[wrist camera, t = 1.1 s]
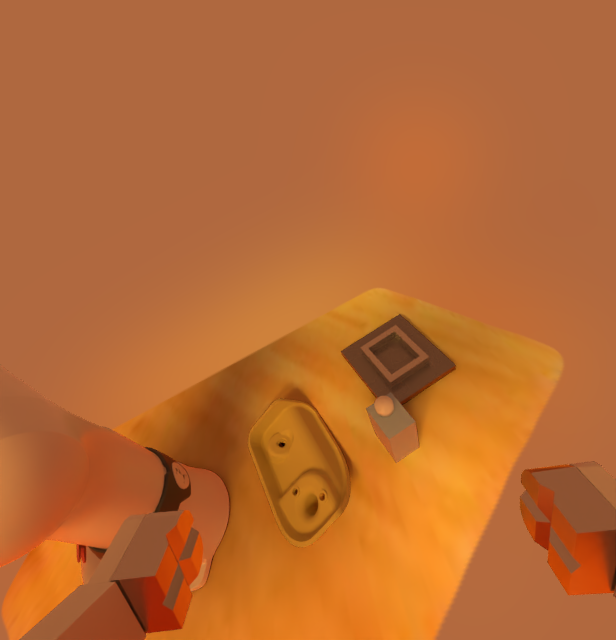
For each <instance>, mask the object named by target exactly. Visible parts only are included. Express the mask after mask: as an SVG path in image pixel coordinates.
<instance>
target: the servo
mask: <svg viewBox="0 0 616 640" xmlns="http://www.w3.org/2000/svg"><path fill="white" fill-rule="evenodd" d="M366 410H367V412H368V415H369V418H370V420H371V423H372V425H373V428H374V431H375V433H376V435H377V437H378V438H379V439H380V441H381V442H382V444H383V445H384V446H385V448H386V449H387V451H388V452H389V453H390V455H391V456H392V458H393V459H394V460H395V462H396V463H397V462H399V461H400V460H401V459H403V458H404V457H406V456H407V455H409V454H410V453H412V452H413V451H414V450H416V449H417V448H419V442H418V435H417V428H416V422H415V420H414V419H413V418H412V417H411V416H410V414H409V413H408V412H407V411H406V410H405V408H404V407H403V406H402V405H401V404H400V402H399V401H398V400H397V399H396V398H395V397H394V395H393V394H392V393H391V392H390V393H389V394H387V395H386V396H380V397H378V398H377V399H376V400H375V402H374V404H372V405H371V406H369V407H368V408H366Z"/></svg>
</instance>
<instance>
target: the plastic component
mask: <svg viewBox="0 0 616 640" xmlns="http://www.w3.org/2000/svg"><path fill="white" fill-rule="evenodd" d="M280 443H285V446H284V447H280V446H279V444H280ZM248 448H249V451H250V454H251V456H252V459H253V462H254V464H255V467H256V470H257V472H258V475H259V478H260V481H261V483H262V486H263V489H264V491H265V494H266V497H267V499H268V502H269V505H270V507H271V510H272V513H273V515H274V518H275V520H276V522H277V525H278V527H279V529H280V531H281V533H282V534H283V536H284V537H285V539H286V540H287V541H288V542H289V543H290V544H292V545H294V546H296V547H307V546H310V545H312V544H313V543H315V542H316V541H317V540H318V539H319V538H320V537H321V536H322V535H323V534H324V533H325V531H326V530H327V529H328V528H329V527H330V526H331V525H332V524H333V523H334V522H335V520H336V519H337V518H338V517H339V516H340V515H341V514H342V513H343V511H344V510H345V508H346V506H347V504H348V501H349V497H350V475H349V470H348V466H347V463H346V461H345V458H344V456H343V454H342V452H341V449H340V447H339V446H338V444H337V443H336V441H335V439H334V438H333V436H332V434H331V433H330V431H329V430H328V428H327V426H326V425H325V423H324V421H323V420H322V418H321V417H320V415H319V413H318V412H317V411H316V410H315V409H314V408H313V407H312V406H311V405H309V404H308V403H306V402H303V401H298V400H291V399H283V398H280V399H277V400H275V401H274V402H273V403H272V404H271V405H270V407H269V408H268V409H267V410H266V411H265V412H264V414H263V415H262V416H261V417H260V418H259V420H258V421H257V422H256V423H255V424H254V426H253V427H252V428H251V430H250V432H249V436H248ZM296 491H297V495H296Z"/></svg>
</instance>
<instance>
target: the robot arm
mask: <svg viewBox="0 0 616 640" xmlns="http://www.w3.org/2000/svg"><path fill="white" fill-rule="evenodd" d="M521 483H522V485H523V486H524V487H525V489H526V491H525V492H524V493H523V494H522V495H521V496H520V510H521V513H522V517H523V520H524V523H525V525H526V527H527V529H528V531H529V533H530V534H531V536H532V538H533V540H534V541H535V542H536V543H538V544H539V545H540V546H542V547H543V548H545V549H546V550H548V561H547V562H548V564H549V565H550V567H551V569H552V570H553V572H554V573H555V575H556V577H557V578H558V580H559V581H560V583H561V585H562V586H563V588H564V589H565V591H566V592H567V594H568V595H585V594H603V593H614V594H613V595H614V596H615V597H616V479H615V478H613V476H612V475H610V473H609V472H607V471H606V470H605V469H604V468H603V467H602V466H601V465H600V464H598V463H596V462H594V461H592V462H584V463H576V464H570V465H566V464H565V465H558V466H550V467H542V468H535V469H527V470H524V471H523V473H522V474H521ZM228 517H229V496H228V492H227V489H226V486H225V484H224V483H223V481H222V480H221V478H220V477H219V476H218V475H217V474H215V473H214V472H212V471H210V470H207V469H200V468H193V467H189V466H186V465H184V464H182V463H180V462H176V461H175V460H173V459H172V458H170V457H169V456H167V455H165V454H163V453H161V452H159V451H157V450H155V449H152V448H148V447H142V446H140V445H139V444H137V443H135V442H133V441H131V440H130V439H128V438H126V437H124V436H122V435H121V434H119V433H117V432H115V431H113V430H111V429H109V428H107V427H101V426H98V425H96V424H94V423H91V422H89V421H87V420H85V419H82V418H80V417H78V416H76V415H74V414H72V413H70V412H68V411H66V410H65V409H63V408H61V407H59V406H58V405H56V404H55V403H53V402H52V401H50V400H49V399H47V398H46V397H44V396H43V395H42V394H40V393H39V392H37V391H36V390H35V389H33V388H32V387H30V386H29V385H28V384H26V383H25V382H24V381H22V380H20V379H18V378H17V377H15V376H14V375H13V374H11V373H10V372H9V371H8V370H6V369H5V368H4V367H3V366H1V365H0V567H2V566H4V565H7V564H9V563H11V562H13V561H15V560H16V559H18V558H20V557H22V556H23V555H25V554H27V553H28V552H30V551H31V550H33V549H34V548H36V547H37V546H38V545H40V544H41V543H42V542H44V541H45V540H55V541H61V542H67V543H73V544H77V561H78V562H80V559H81V568H82V578H83V583H84V585H80V586H79V587H78V588H77V589H76V590H75V591H74V592H72V593H71V594H70V595H69V596H68V597H67V598H66V599H65V600H63V601H62V602H61V603H60V604H59V605H58V606H57V607H56V608H54V609H53V610H52V611H51V612H50V613H49V614H48V615H47V616H45V617H44V618H43V619H42V620H41V621H40V622H39V623H38V624H36V625H35V626H34V627H33V628H32V629H31V630H30V631H29V632H27V633H26V634H25V635H24V636H23V637H22V638H21V639H20V640H144V638H145V637H146V634H145V633H152V632H160V631H169V630H177V629H182V628H183V624H184V621H185V618H186V615H187V611H188V608H189V605H190V602H191V598H192V593H191V592H192V591H195V590H197V589H199V588H201V587H202V586H203V585H204V584H205V582H206V580H207V577H208V574H209V570H210V566H211V561H212V557H213V555H214V553H215V551H216V549H217V547H218V545H219V544H220V542H221V540H222V537H223V535H224V532H225V530H226V526H227V522H228Z"/></svg>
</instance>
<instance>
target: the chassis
mask: <svg viewBox="0 0 616 640" xmlns="http://www.w3.org/2000/svg"><path fill="white" fill-rule="evenodd" d="M341 353H342V355H343V357H344V358H345V359H346V360H347V362H348V363H349V364H350V365H351V367H352V368H353V369H354V370H355V372H356V373H357V374H358V376H359V377H360V378H361V379H362V381H363V382H364V383H365V384H366V386H367V387H368V388H369V389H370V391H371V392H372V393H373V395H374V396H375V397H376V398H378V397H380V396H386V395H387V394H389V393H390V392H391V393H392V394H393V395H394V397H395V398H396V399H397V400H398V401H399V402H400V404H401V405H403V404H404V403H406V402H407V401H409V400H410V399H412V398H413V397H415V396H416V395H418V394H419V393H421V392H422V391H424V390H425V389H427V388H428V387H430V386H431V385H433V384H434V383H436V382H437V381H439V380H440V379H442V378H443V377H444V376H446V375H447V374H449V373H450V372H452V371H453V370H455V369H456V365H455V364H454V363H453V362H452V361H451V360H449V359H448V358H447V357H446V356H445V355H444V354H443V353H442V352H441V351H440V350H438V349H437V348H436V347H435V346H434V345H433V344H432V343H431V342H430V341H429V340H427V339H426V338H425V337H424V336H423V335H422V334H421V333H420V332H419V331H418V330H417V329H415V328H414V327H413V326H412V325H411V324H410V323H409V322H408V321H407V320H406V319H404V318H403V317H402V316H401V315H400V314H399V315H398V316H396V317H395V318H393V319H391V320H390V321H388V322H387V323H385V324H384V325H382V326H380V327H379V328H377V329H376V330H374V331H372V332H371V333H369V334H368V335H366V336H365V337H363V338H361V339H360V340H358V341H357V342H355V343H354V344H352V345H350V346H349V347H347V348H346V349H344V350H343V351H341Z"/></svg>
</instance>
